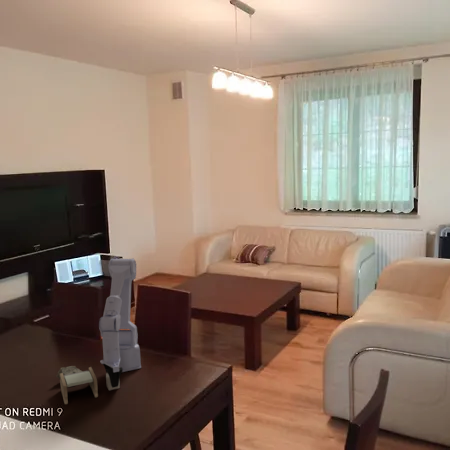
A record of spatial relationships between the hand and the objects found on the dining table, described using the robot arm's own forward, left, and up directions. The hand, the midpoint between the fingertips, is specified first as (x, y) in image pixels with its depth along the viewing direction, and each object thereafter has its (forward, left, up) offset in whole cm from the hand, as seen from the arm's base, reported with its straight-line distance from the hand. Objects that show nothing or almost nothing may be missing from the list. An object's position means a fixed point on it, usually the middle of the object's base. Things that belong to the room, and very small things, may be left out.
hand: (113, 383), depth 169 cm
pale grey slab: (+12, -1, +2) cm, 12 cm away
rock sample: (+12, -12, -2) cm, 17 cm away
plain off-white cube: (0, 0, -2) cm, 2 cm away
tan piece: (+12, -1, -1) cm, 12 cm away
